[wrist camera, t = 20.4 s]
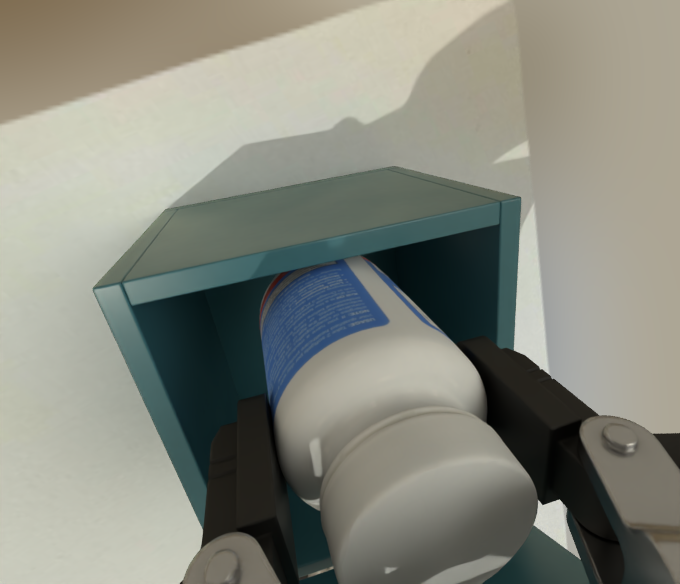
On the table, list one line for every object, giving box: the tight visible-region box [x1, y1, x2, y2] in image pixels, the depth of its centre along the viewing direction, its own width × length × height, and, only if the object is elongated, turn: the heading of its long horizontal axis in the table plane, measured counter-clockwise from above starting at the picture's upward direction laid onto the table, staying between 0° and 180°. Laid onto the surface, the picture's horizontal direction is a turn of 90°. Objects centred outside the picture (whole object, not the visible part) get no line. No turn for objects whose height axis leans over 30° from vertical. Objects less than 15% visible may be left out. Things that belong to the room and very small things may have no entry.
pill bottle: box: [260, 255, 538, 584], centre depth 11 cm, size 6×5×10 cm
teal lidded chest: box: [93, 166, 521, 578], centre depth 20 cm, size 16×14×12 cm
